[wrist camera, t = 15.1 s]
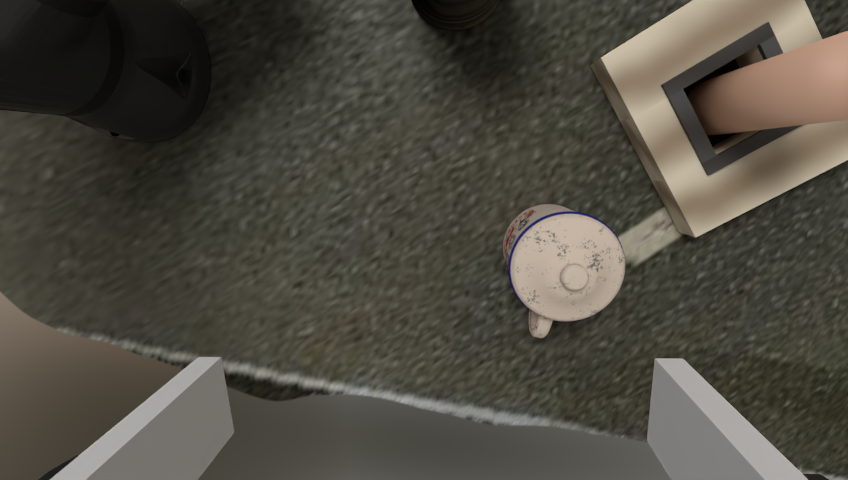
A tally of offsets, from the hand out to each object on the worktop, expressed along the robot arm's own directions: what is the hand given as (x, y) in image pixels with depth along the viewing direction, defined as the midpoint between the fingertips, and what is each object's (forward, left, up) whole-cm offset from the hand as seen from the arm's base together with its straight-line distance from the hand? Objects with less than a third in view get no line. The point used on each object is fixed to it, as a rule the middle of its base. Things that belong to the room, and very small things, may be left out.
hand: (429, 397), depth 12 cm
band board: (+2, +26, -30) cm, 40 cm away
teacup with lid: (+7, +6, -30) cm, 32 cm away
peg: (+2, +26, -30) cm, 40 cm away
